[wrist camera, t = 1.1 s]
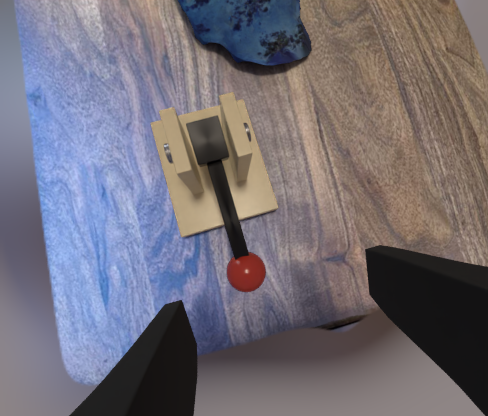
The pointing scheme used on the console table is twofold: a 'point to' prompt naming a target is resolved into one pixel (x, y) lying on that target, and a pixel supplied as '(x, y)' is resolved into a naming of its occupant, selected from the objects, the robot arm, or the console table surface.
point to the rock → (251, 28)
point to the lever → (226, 202)
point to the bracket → (198, 178)
